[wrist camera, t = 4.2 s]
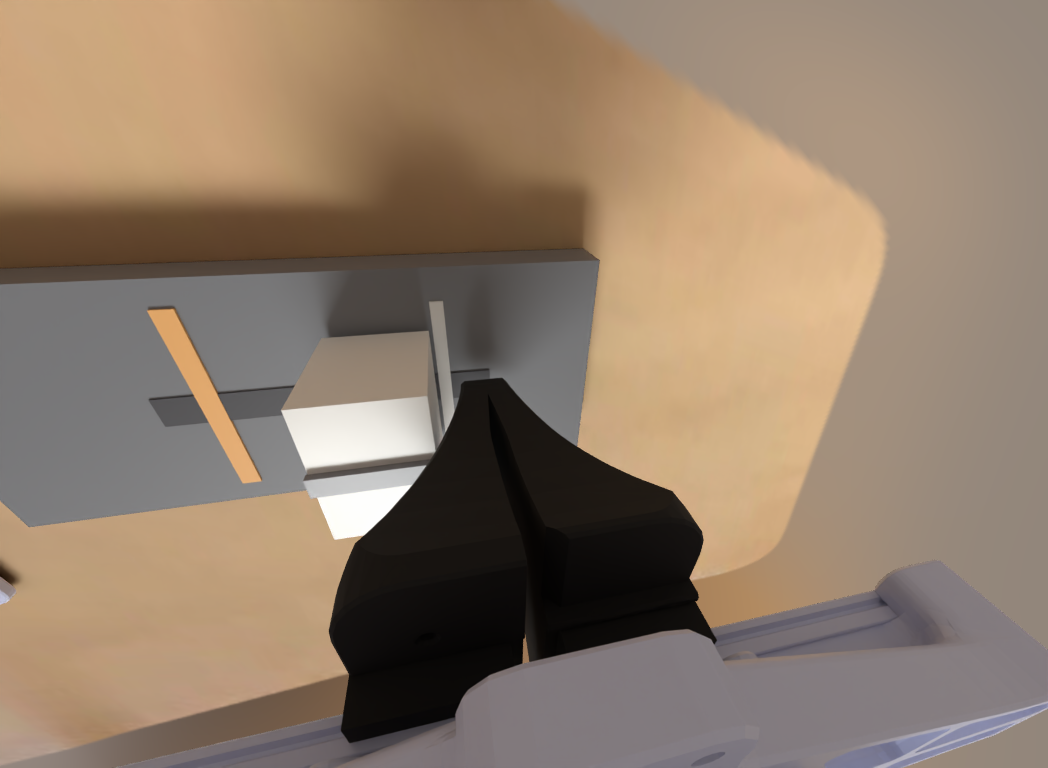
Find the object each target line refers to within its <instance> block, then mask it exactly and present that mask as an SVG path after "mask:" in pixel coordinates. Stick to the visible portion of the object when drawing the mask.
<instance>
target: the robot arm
mask: <svg viewBox="0 0 1048 768" xmlns="http://www.w3.org/2000/svg"><path fill="white" fill-rule="evenodd" d="M703 541H704V540H703V535H702V531H701V529H700V528H699V527H698V525H697V524H696V522H695V521H694V519H693V518H692V516H691V515H690V513H689V512H688V510H687V509H686V508H685V506H684V505H683V504H682V503H681V501H680V500H679V499H678V498H677V496H676V495H675V494H674V493H673V491H670V490H668V489H665V488H662V487H660V486H657V485H655V484H652V483H649V482H647V481H644V480H641V479H639V478H636V477H634V476H632V475H629V474H627V473H625V472H623V471H621V470H619V469H616V468H614V467H612V466H610V465H608V464H606V463H604V462H602V461H601V460H599V459H597V458H595V457H594V456H592V455H590V454H588V453H587V452H585V451H583V450H582V449H580V448H578V447H577V446H575V445H574V444H572V443H571V442H570V441H568V440H567V439H565V438H564V437H562V436H561V435H560V434H558V433H557V432H556V431H555V430H553V429H552V428H551V427H550V426H549V425H548V424H546V423H545V422H544V421H543V420H542V419H541V418H540V417H539V416H538V415H536V414H535V413H534V412H533V411H532V410H531V409H530V408H529V407H528V406H527V405H526V404H525V402H524V401H523V400H522V399H521V398H520V397H519V396H518V395H517V394H516V393H515V391H514V390H513V389H512V388H511V387H510V385H509V384H508V383H507V382H506V380H504V379H503V378H492V379H481V380H471V381H464V382H463V383H462V384H461V390H460V396H459V400H458V403H457V406H456V409H455V412H454V414H453V417H452V420H451V422H450V424H449V426H448V428H447V431H446V433H445V435H444V437H443V439H442V441H441V443H440V444H439V446H438V448H437V450H436V451H435V453H434V455H433V456H432V458H431V459H430V461H429V463H428V464H427V465H426V467H425V468H424V470H423V471H422V472H421V474H420V475H419V477H418V478H417V479H416V481H415V482H414V483H413V485H412V486H411V487H410V488H409V489H408V491H407V492H406V493H405V494H404V495H403V496H402V497H401V499H400V500H399V501H398V502H397V503H396V504H395V505H394V506H393V508H392V509H391V510H390V511H389V512H388V513H387V514H386V515H385V516H384V517H383V518H382V519H381V520H380V521H379V522H378V523H377V524H376V525H375V526H374V527H372V528H371V529H370V530H369V531H368V532H367V533H366V534H365V535H364V536H363V537H362V538H361V539H360V540H359V541H357V542H356V543H355V545H354V547H353V549H352V552H351V554H350V556H349V559H348V561H347V564H346V566H345V569H344V572H343V575H342V578H341V580H340V584H339V587H338V590H337V594H336V598H335V603H334V608H333V613H332V618H331V622H330V627H329V634H330V639H331V642H332V644H333V646H334V648H335V650H336V651H337V653H338V655H339V657H340V659H341V661H342V662H343V664H344V666H345V668H346V670H347V671H348V673H349V680H348V687H347V693H346V700H345V706H344V712H343V714H342V715H338V716H333V717H329V718H324V719H320V720H316V721H312V722H307V723H303V724H299V725H295V726H290V727H286V728H282V729H277V730H273V731H269V732H264V733H260V734H256V735H252V736H248V737H243V738H239V739H235V740H230V741H226V742H222V743H217V744H213V745H209V746H205V747H200V748H196V749H192V750H187V751H183V752H179V753H175V754H170V755H166V756H162V757H157V758H153V759H149V760H144V761H140V762H136V763H132V764H127V765H123V766H119V767H115V768H903V767H906V766H909V765H911V764H914V763H917V762H920V761H922V760H925V759H928V758H931V757H933V756H936V755H939V754H942V753H944V752H947V751H950V750H953V749H956V748H958V747H961V746H964V745H967V744H970V743H973V742H976V741H979V740H981V739H985V738H987V737H990V736H993V735H995V734H997V733H999V732H1001V731H1004V730H1006V729H1007V728H1010V727H1012V726H1014V725H1016V724H1017V723H1020V722H1022V721H1024V720H1026V719H1028V718H1030V717H1032V716H1034V715H1036V714H1038V713H1040V712H1042V711H1044V710H1046V709H1048V649H1046V648H1045V647H1044V646H1043V645H1041V644H1040V643H1039V642H1038V641H1037V640H1035V639H1034V638H1033V637H1032V636H1031V635H1029V634H1028V633H1027V632H1026V631H1025V630H1023V629H1022V628H1021V627H1020V626H1019V625H1017V624H1016V623H1015V622H1014V621H1013V620H1011V619H1010V618H1009V617H1008V616H1006V615H1005V614H1004V613H1003V612H1002V611H1001V610H999V609H998V608H997V607H996V606H995V605H993V604H992V603H991V602H990V601H989V600H987V599H986V598H985V597H984V596H983V595H981V594H980V593H979V592H978V591H977V590H975V589H974V588H973V587H972V586H970V585H969V584H968V583H967V582H966V581H964V580H963V579H962V578H961V577H960V576H958V575H957V574H956V573H955V572H954V571H952V570H951V569H950V568H949V567H948V566H946V565H945V564H944V563H943V562H941V561H939V560H932V561H927V562H923V563H918V564H914V565H909V566H905V567H901V568H898V569H895V570H893V571H892V572H890V573H888V574H887V575H886V576H885V577H883V578H882V579H881V580H880V581H879V583H878V584H877V585H876V587H875V590H873V591H869V592H865V593H861V594H856V595H852V596H847V597H843V598H839V599H835V600H830V601H826V602H822V603H817V604H813V605H809V606H805V607H801V608H797V609H792V610H787V611H783V612H779V613H775V614H771V615H766V616H762V617H758V618H754V619H749V620H745V621H741V622H736V623H732V624H727V625H723V626H719V627H715V628H710V627H709V625H708V623H707V622H706V620H705V618H704V616H703V614H702V613H701V611H700V609H699V607H698V606H697V604H696V602H695V601H697V600H698V598H699V597H698V592H697V591H696V589H695V587H694V586H693V584H692V582H691V580H690V579H689V578H690V575H691V573H692V571H693V569H694V566H695V564H696V562H697V560H698V557H699V555H700V552H701V549H702V545H703ZM15 593H16V589H15V588H14V587H13V586H12V585H11V584H9V583H8V582H7V581H5V580H4V579H3V578H2V577H0V604H3V603H6V602H8V601H9V600H10V599H11V598H12V597H13V596H14V594H15ZM525 635H526V642H527V648H528V655H529V662H528V663H524V664H522V661H523V639H524V638H525Z"/></svg>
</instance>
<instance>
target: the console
mask: <svg viewBox="0 0 1048 768" xmlns="http://www.w3.org/2000/svg"><path fill="white" fill-rule="evenodd" d="M599 261H600V260H599V259H597V258H596V257H594V256H593V255H592V254H590V253H589V252H588V251H586V250H585V249H555V250H526V251H497V252H468V253H439V254H410V255H381V256H352V257H323V258H294V259H265V260H236V261H207V262H178V263H149V264H120V265H90V266H61V267H32V268H3V269H0V501H1V502H2V503H3V504H4V505H5V506H7V507H8V508H9V509H10V510H11V511H12V512H13V513H14V514H15V515H16V516H17V517H19V518H20V519H21V520H22V521H23V522H24V523H25V524H26V525H27V526H28V527H35V526H42V525H50V524H57V523H65V522H72V521H80V520H87V519H95V518H102V517H110V516H117V515H125V514H132V513H140V512H147V511H155V510H162V509H170V508H177V507H185V506H192V505H200V504H207V503H215V502H222V501H230V500H237V499H245V498H252V497H260V496H267V495H275V494H282V493H290V492H297V491H305V490H307V489H306V487H305V485H304V482H303V480H304V477H305V475H308V474H307V472H306V469H305V467H304V465H303V462H302V460H301V457H300V455H299V453H298V450H297V448H296V445H295V443H294V441H293V438H292V436H291V433H290V431H289V428H288V426H287V424H286V421H285V419H284V416H283V414H282V412H281V410H282V408H283V406H284V404H285V402H286V401H287V399H288V397H289V395H290V393H291V392H292V390H293V388H294V386H295V384H296V383H297V381H298V379H299V377H300V376H301V374H302V372H303V370H304V368H305V367H306V365H307V363H308V361H309V359H310V358H311V356H312V354H313V352H314V350H315V349H316V347H317V345H318V343H319V341H320V340H321V338H331V337H345V336H360V335H374V334H389V333H403V332H418V331H429V337H430V344H431V352H432V359H433V367H434V374H435V382H436V389H437V397H438V405H439V412H440V420H441V427H442V435H443V437H444V435H445V433H446V431H447V428H448V426H449V424H450V422H451V420H452V417H453V414H454V412H455V409H456V406H457V403H458V400H459V396H460V390H461V384H462V383H463V382H464V381H471V380H481V379H492V378H503V379H504V380H506V382H507V383H508V384H509V385H510V387H511V388H512V389H513V390H514V391H515V393H516V394H517V395H518V396H519V397H520V398H521V399H522V400H523V401H524V402H525V404H526V405H527V406H528V407H529V408H530V409H531V410H532V411H533V412H534V413H535V414H536V415H538V416H539V417H540V418H541V419H542V420H543V421H544V422H545V423H546V424H548V425H549V426H550V427H551V428H552V429H553V430H555V431H556V432H557V433H558V434H560V435H561V436H562V437H564V438H565V439H567V440H568V441H570V442H571V443H572V444H574V445H575V446H577V443H578V435H579V427H580V419H581V410H582V402H583V394H584V385H585V377H586V369H587V360H588V352H589V344H590V336H591V327H592V319H593V311H594V302H595V294H596V286H597V278H598V269H599Z"/></svg>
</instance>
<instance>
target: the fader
mask: <svg viewBox="0 0 1048 768" xmlns="http://www.w3.org/2000/svg"><path fill="white" fill-rule="evenodd" d="M281 412H282V414H283V416H284V419H285V421H286V424H287V426H288V428H289V431H290V433H291V436H292V438H293V441H294V443H295V445H296V448H297V450H298V453H299V455H300V457H301V460H302V462H303V465H304V467H305V469H306V472H307V474H308V475H305V477H304V480H303V482H304V485H305V487H306V489H307V492H308V494H309V496H310V499H312V498H318V501H319V503H320V506H321V508H322V510H323V513H324V515H325V518H326V520H327V523H328V525H329V527H330V530H331V532H332V535H333V537H334V539H335V540H336V539H343V538H349V537H356V536H362V535H365V534H366V533H367V532H368V531H369V530H370V529H371V528H372V527H374V526H375V525H376V524H377V523H378V522H379V521H380V520H381V519H382V518H383V517H384V516H385V515H386V514H387V513H388V512H389V511H390V510H391V509H392V508H393V506H394V505H395V504H396V503H397V502H398V501H399V500H400V499H401V497H402V496H403V495H404V494H405V493H406V492H407V491H408V489H409V488H410V487H411V486H412V485H413V483H414V482H415V481H416V479H417V478H418V477H419V475H420V474H421V472H422V471H423V470H424V468H425V467H426V465H427V464H428V463H429V461H430V459H431V458H432V456H433V455H434V453H435V451H436V450H437V448H438V446H439V444H440V443H441V441H442V439H443V435H442V427H441V420H440V412H439V405H438V397H437V389H436V382H435V374H434V367H433V359H432V352H431V344H430V337H429V331H418V332H403V333H389V334H374V335H360V336H345V337H331V338H321V340H320V341H319V343H318V345H317V347H316V349H315V350H314V352H313V354H312V356H311V358H310V359H309V361H308V363H307V365H306V367H305V368H304V370H303V372H302V374H301V376H300V377H299V379H298V381H297V383H296V384H295V386H294V388H293V390H292V392H291V393H290V395H289V397H288V399H287V401H286V402H285V404H284V406H283V408H282V410H281Z"/></svg>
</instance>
